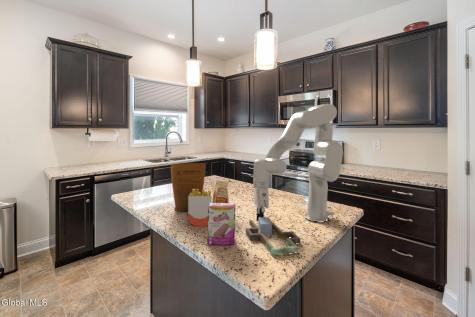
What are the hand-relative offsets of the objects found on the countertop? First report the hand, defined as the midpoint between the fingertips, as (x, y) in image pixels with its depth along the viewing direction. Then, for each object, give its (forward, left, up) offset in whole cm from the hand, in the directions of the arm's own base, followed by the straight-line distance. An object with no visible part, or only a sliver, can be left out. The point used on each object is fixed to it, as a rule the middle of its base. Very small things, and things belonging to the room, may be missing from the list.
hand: (260, 220), depth 120 cm
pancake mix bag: (+34, -28, -2) cm, 44 cm away
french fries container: (+29, -6, -2) cm, 30 cm away
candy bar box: (+22, +16, -2) cm, 27 cm away
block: (0, +7, -2) cm, 8 cm away
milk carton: (+17, -17, -2) cm, 24 cm away
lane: (0, +14, -2) cm, 14 cm away
